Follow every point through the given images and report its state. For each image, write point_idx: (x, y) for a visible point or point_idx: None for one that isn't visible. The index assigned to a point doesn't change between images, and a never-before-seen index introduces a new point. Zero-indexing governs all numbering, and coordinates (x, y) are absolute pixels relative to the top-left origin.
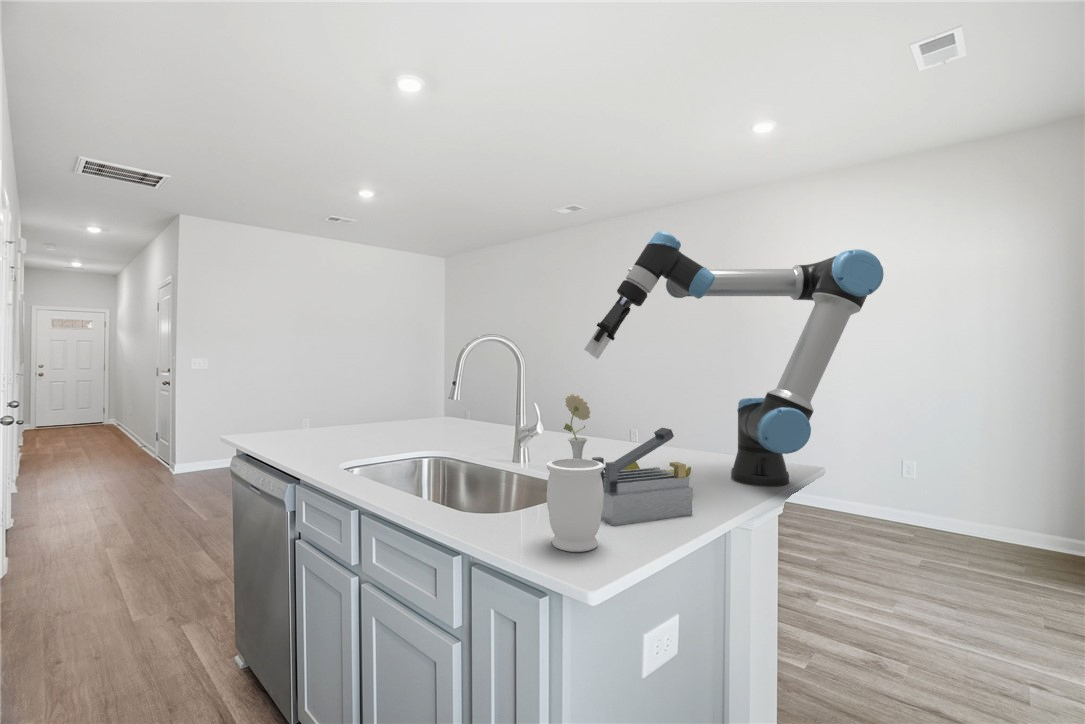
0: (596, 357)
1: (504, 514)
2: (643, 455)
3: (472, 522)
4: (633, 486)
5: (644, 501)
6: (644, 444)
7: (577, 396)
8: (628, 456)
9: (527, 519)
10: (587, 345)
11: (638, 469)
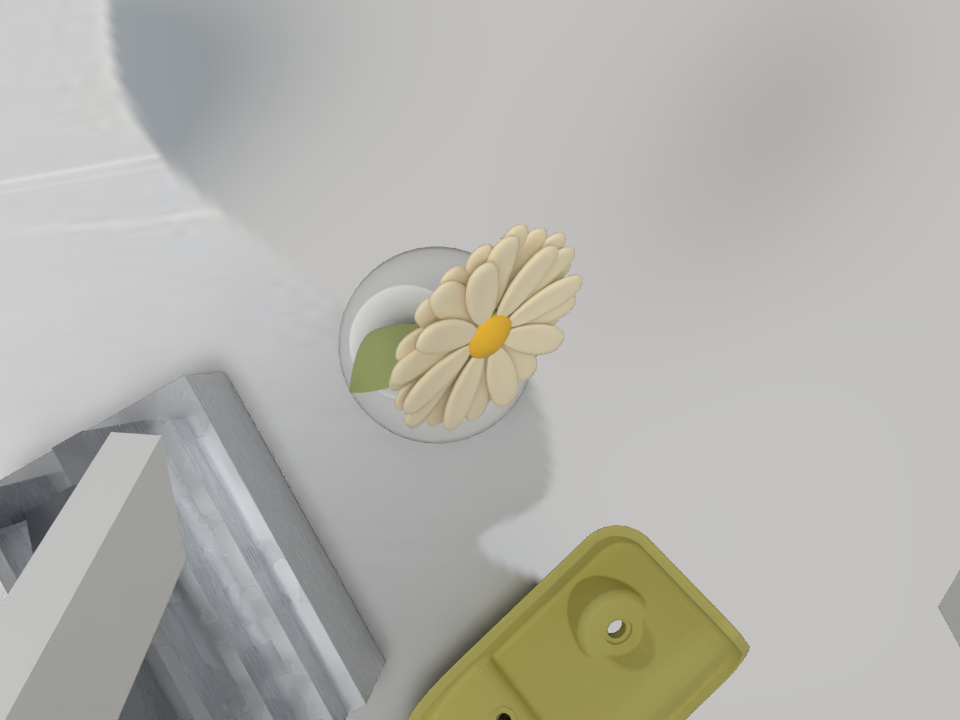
0: (952, 597)
1: (110, 101)
2: None
3: (8, 13)
4: None
5: None
6: (126, 711)
7: (422, 332)
8: None
9: (64, 192)
10: (73, 500)
11: (276, 635)
